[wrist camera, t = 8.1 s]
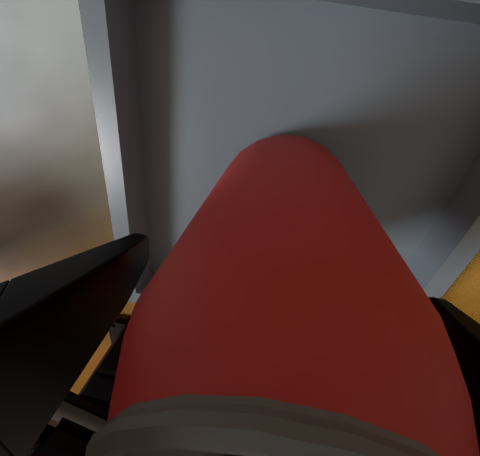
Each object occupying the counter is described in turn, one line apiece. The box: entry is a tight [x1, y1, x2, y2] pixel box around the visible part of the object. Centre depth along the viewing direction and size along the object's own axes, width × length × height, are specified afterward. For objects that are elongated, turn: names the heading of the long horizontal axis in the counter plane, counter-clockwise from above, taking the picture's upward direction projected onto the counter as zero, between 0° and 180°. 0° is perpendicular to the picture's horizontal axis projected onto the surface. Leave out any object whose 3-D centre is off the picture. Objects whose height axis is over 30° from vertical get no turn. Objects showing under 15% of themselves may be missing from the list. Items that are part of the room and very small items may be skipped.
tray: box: [78, 0, 480, 303], centre depth 13 cm, size 18×18×3 cm
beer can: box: [85, 135, 480, 456], centre depth 9 cm, size 7×7×12 cm
